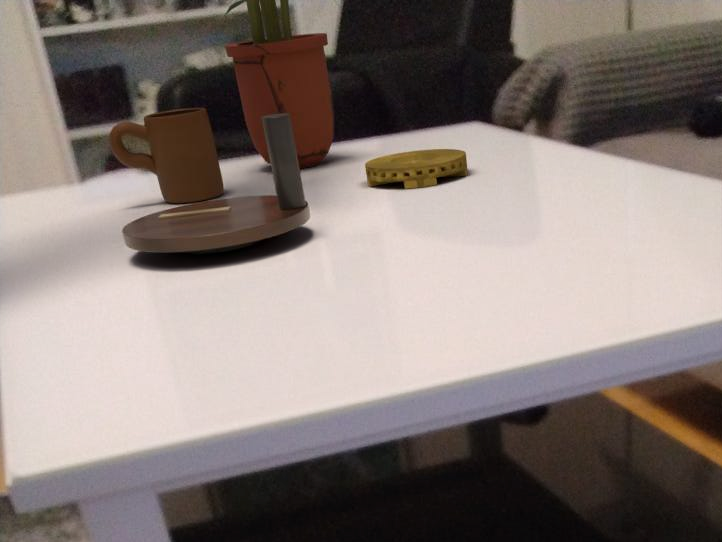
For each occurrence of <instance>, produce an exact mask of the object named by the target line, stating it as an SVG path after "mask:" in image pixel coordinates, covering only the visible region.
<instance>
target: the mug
mask: <svg viewBox="0 0 722 542" xmlns="http://www.w3.org/2000/svg"><path fill="white" fill-rule="evenodd" d="M143 123H144V124H139V123H137V122H132V121H127V120H126V121H122V122H119V123H117V124H116V125H114V126H113V127H112V128H111V130H110V132H109V137H108V142H109V147H110V149H111V152H112V154H113V155H114V157H115V158H116V159H117V160H118V161H119V162H120V163H121V164H122V165H124V166H127V167H128V168H131V169H139V170H141V169H143V170H146V171H149V172H150V173H152V174H154V175H155V176H156V178H157V183H158V185H159V189H160V193H161V196H162V198H163V199H164V201H165V202H166V203H169V204H192V203H199V202H204V201H209V200H211V199H214V198H217V197H219V196H221V195H223V193H224V189H225V186H224V182H223V176H222V170H221V166H220V162H219V157H218V152H217V148H216V143H215V139H214V138H215V137H214V134H213V129H212V124H211V122H210V118H209V115H208V112H207V109H206V108H205V107H188V108H187V107H186V108H178V109H171V110H164V111H158V112H154V113H149V114H147V115H144V116H143ZM124 137H130V138H133V139H138V140H142V141H145V142H147V143H148V147H149V151H150V154H149V153H145V152H131V151H129V150H128V149H127V148H126V146H125V144H124V142H123V138H124Z"/></svg>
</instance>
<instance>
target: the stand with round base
mask: <svg viewBox="0 0 722 542" xmlns="http://www.w3.org/2000/svg"><path fill="white" fill-rule="evenodd" d="M262 122H263V127H264V132H265V137H266V142H267V148H268V153H269V158H270V163H271V165H270V168H271V173H272V177H273V178H272V179H273V183H274V189H275V193H276V194H275V195H274V194H273V195H249V196H236V197H228V198H227V197H226V198H220V199H212V200H205V201H199V202H193V203H188V204H184V205H181V206H176V207H175V206H174V207H171V208H167V209H163V210H160V211H156V212H153V213H150V214H147V215H144V216H141V217H139V218H136V219H134V220H132V221H130V222H129V223H127V224H126V225H124V226H123V228H122V229H121V233H122V236H123V240H124V243H125V246H126V247H127V248H129V249H131V250H134V251H139V252H145V253H146V252H147V253H187V254H193V255H207V254H208V255H209V254H218V253H219V254H220V253H225V252H232V251H236V250H239V249H244V248H247V247H251V246H253V245H255V244H257V243H259V242H260V241H262V240H267V239H268V238H269V239H270V238H272V237H277V236H280V235H282V234H285V233H288V232H291V231H293V230H295V229H298V228H300V227H302V226H303V225H305V224H306V223H307V222H309V220H310V219H311V210H310V206H309V205H310V204H309V202H308V201H307V200H306V198H305V191H304V187H303V182H302V175H301V168H299V163H298V158H297V152H296V147H295V141H294V136H293V130H292V124H291V119H290V114H288V113H281V114H272V115H267V116H263V117H262Z"/></svg>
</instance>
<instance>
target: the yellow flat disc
mask: <svg viewBox="0 0 722 542" xmlns="http://www.w3.org/2000/svg"><path fill="white" fill-rule="evenodd" d="M467 160H468V159H467V152H466V151H465V150H462V149H454V148H432V149H420V150H411V151H404V152H397V153H392V154H388V155H383V156H379V157H375V158H373V159H370V160H368V161H367V162H365V163H364V168H365V175H366V182H367V186H368V187H375V186H376V187H377V186H382V185H387V184H393V183H403V185H404V190H405V189H407V190H408V189H416V188H417V189H419V188H424V187H425V188H426V187H432V186H437V185H438V182H437V181H438V180H437V178H448V177H449V178H451V177H452V178H453V177H466V176H468V174H469V171H468V161H467Z"/></svg>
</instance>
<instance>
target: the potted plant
mask: <svg viewBox="0 0 722 542" xmlns="http://www.w3.org/2000/svg"><path fill="white" fill-rule="evenodd" d="M334 2H335V3H336V5H337V6H338V7H339V8H340V9H341V7H340V6H339V4H338V2H337V1H336V0H334ZM244 3H246V8H247V16H248V21H249V27H250V33H251V34H250V35H251V40H245V41H239V42H233V43H230V44H226V45H224V48H225V52H226V57H228V58H232V62H233V68H234V72H235V77H236V83H237V87H238V91H239V92H238V93H239V97H240V101H241V102H240V103H241V106H242V111H243V115H244V121H245V125H246V127H247V130H248V133H249V136H250V138H251V141H252V143H253V146H254V148H255V150H256V151H257V153H258V154H259V155H260V156H261V157H262V159H263V160H264V161H265V162H266V163H267V164H268V165H270V166H271V163H270V158H269V153H268V148H267V142H266V137H265V132H264V127H263V122H262V117H263V116H267V115H272V114H281V113H288V114H290V119H291V124H292V130H293V136H294V141H295V147H296V152H297V158H298V163H299V169H304V168H309V167H315V166H317V165H318V164H320V163H321V162H323V161H324V160H325V158H326V157H327V155H328V154H329V152H330V150H331V146H332V143H333V140H334V137H335V134H334V133H335V132H334V131H335V127H334V126H335V123H334V122H335V113H334V107H333V105H334V104H333V99H332V98H333V97H332V92H331V90H332V89H331V85H330V79H329V71H328V64H327V59H326V53H325V52H326V51H325V46H328V45H329V42H328V41H329V40H328V33H326V32H317V33H303V34H292V32H293V30H294V28H295V26H296V24H294V26H293V27H292V28H291V19H290V7H289V6H290V5H289V4H290V3H289V0H279V4H280V15H281V22H282V23H281V24H282V30H283V36H282V31H281V25H280V19H279V13H278V7H277V2H276V0H237V1H235V2H234V3H232V4H231V5H229V6H228V8H227V10H226V12H225V14H224V17H226V16H227V15H228V14H229V13H230V12H231V11H232V10H234V9H235V8H237V7H239V6H240V5H242V4H244ZM264 29H265V30H264ZM265 34H266V37H265Z"/></svg>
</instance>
